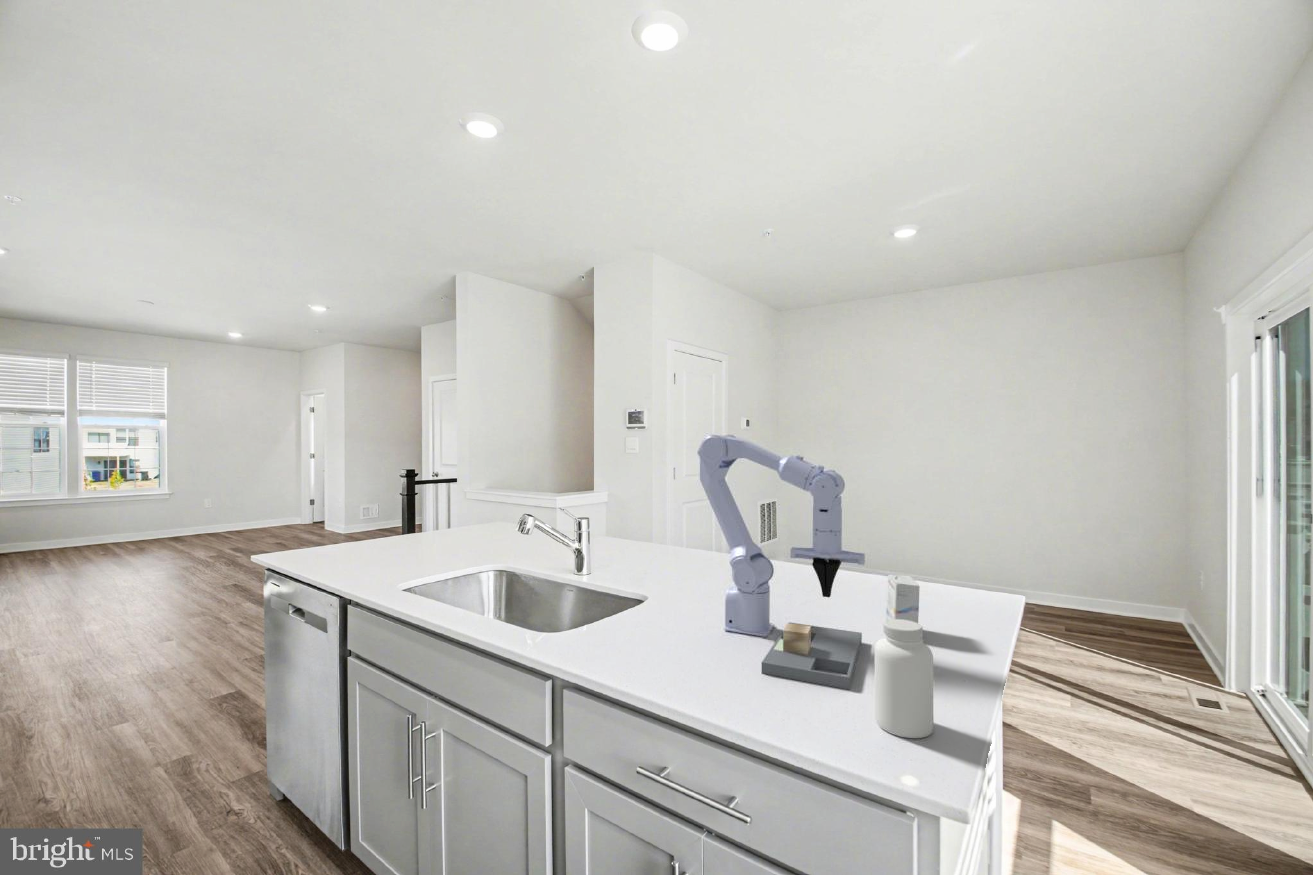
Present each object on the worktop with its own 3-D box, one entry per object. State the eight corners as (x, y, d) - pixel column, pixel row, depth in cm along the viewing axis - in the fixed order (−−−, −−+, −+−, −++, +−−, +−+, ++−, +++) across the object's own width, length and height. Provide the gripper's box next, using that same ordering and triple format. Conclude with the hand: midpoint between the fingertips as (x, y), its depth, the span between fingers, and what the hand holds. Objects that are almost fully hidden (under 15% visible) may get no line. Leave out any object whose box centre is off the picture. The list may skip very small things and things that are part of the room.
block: (783, 651, 106) (783, 630, 106) (787, 643, 110) (787, 622, 110) (807, 655, 104) (807, 633, 104) (810, 646, 108) (810, 626, 108)
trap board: (761, 673, 101) (761, 662, 101) (788, 631, 123) (788, 622, 123) (849, 689, 94) (849, 677, 94) (861, 642, 116) (861, 632, 116)
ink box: (885, 625, 127) (885, 573, 127) (910, 627, 126) (910, 574, 126) (893, 638, 118) (894, 583, 118) (919, 640, 117) (920, 584, 117)
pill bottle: (864, 713, 86) (865, 616, 86) (914, 711, 87) (915, 615, 87) (890, 741, 78) (891, 634, 78) (945, 739, 79) (945, 633, 79)
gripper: (787, 530, 115) (787, 596, 115) (862, 535, 109) (862, 605, 109) (794, 525, 121) (794, 587, 121) (865, 530, 115) (865, 596, 115)
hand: (826, 595), depth 115 cm, fingers closed
